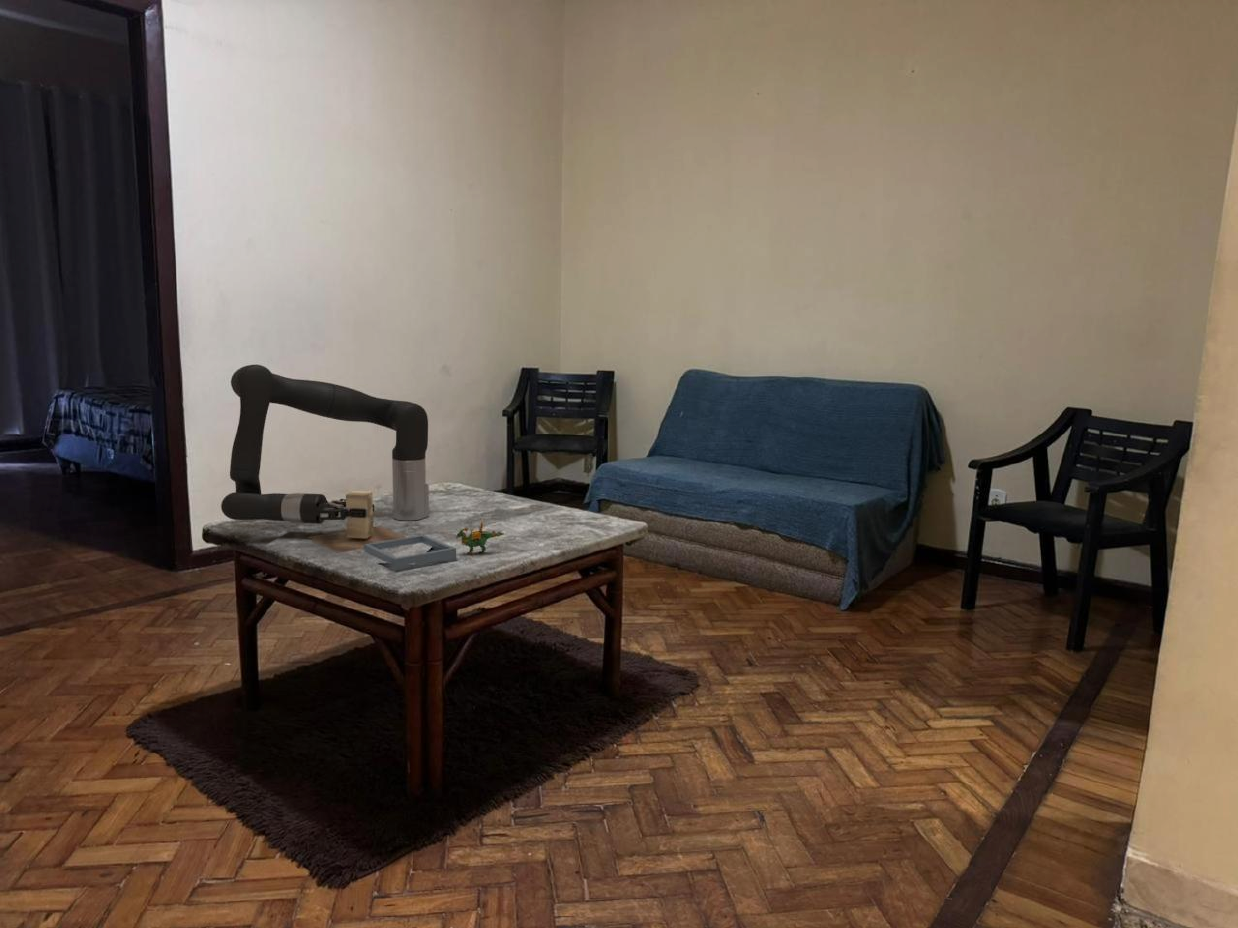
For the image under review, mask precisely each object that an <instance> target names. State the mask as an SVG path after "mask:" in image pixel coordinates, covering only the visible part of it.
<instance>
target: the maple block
mask: <svg viewBox="0 0 1238 928" xmlns="http://www.w3.org/2000/svg"><path fill="white" fill-rule="evenodd" d="M373 496H374V495H373V491H372V490H371V491H370V490H352V491H350V492H348V493H346V494H345V499H346V508H351V509H352V508H358V509H366V510H367V516H366V517H365V518H354V517H351V518H349V519H347V518H346V531H347V538H368V537H369V536H371V535H372V534H373V527H374V512H373V504H374V503H373V502H374V499H373Z"/></svg>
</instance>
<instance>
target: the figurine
mask: <svg viewBox="0 0 1238 928" xmlns="http://www.w3.org/2000/svg"><path fill="white" fill-rule="evenodd" d="M483 525H484V521H480V526H479V527H478V530H476V531H474V528H470V530H469V528H468V527H467V526H466V527H464V528H463V529H459V532H458V533H457V535H456V536H455V539H458V538H461V542H460V543H459V544H460V545H461V546H465V547H469V551H468V552H466V554H467V555H468V556H470V555H472V553H473V551H474V548H477V547H479V548H481V551H478V553H479V555H485V554H486V549H487V547H486V546H485V544H486V543H487V541H488V539H491V538H492V539H493V538H495V537H501V536H503V535H505V533H503V532H501V531H497V532H496V531H495V530H492V532H491V531H489V530H487V531H486V530H483ZM468 530H469V531H470V534H469V535H468V536H467V534H466V533H467V532H468ZM464 531H465V532H464Z"/></svg>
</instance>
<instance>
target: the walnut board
mask: <svg viewBox="0 0 1238 928" xmlns="http://www.w3.org/2000/svg"><path fill="white" fill-rule="evenodd" d="M307 538H308V539H310V540H312V541H313V542H315V543H317V544H319V545H321V546H323V547H325V548H327V549H329V550H330V551H332V552H334V553H343V552H350V551H355V550H356V551H357V550H361V549H364V544H370V543H376V542H382V541H388V540H394V539H400V538H407V537H406V536H404V535H402V534H400V533H398V532H395V531H393V530H390V529H388V528H385V527H383V526H382V525H379V526H373V534H372V535H371V536H369V537H368V538H347V530H344V531H337V532H331V533H325V534H318V535H311V536H307Z"/></svg>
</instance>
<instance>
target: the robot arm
mask: <svg viewBox="0 0 1238 928" xmlns="http://www.w3.org/2000/svg"><path fill="white" fill-rule="evenodd" d="M230 385H231V389H232V390H233V392H234V393H235V395H236V396H237V397H239V403H240V404H239V405H240V409H239V410H240V411H239V418H238V425H237V429H236V434H235V436H234V440H233V445H232V447H231V448H232V449H231V456H230V457H231V458H230V465H229V466H230V470H229V477H230V480H232V481H233V482H234V485H235V491H233V492H231V493H229V494H227V495H226V496H225V497H224V498H223V499H222V501H221V504H220V508H221V512H222V513H223V514H224V516H225V517H226V518H229V519H231V520H234V521H257V520H261V521H262V520H266V521H274V522H290V523H294V524H295V523H297V524H319V525H320V524H322V523H324V522H325V521H345V520H347V519H349V518H351V517H354V518H365V517H366V516H367V510H366V509H358V508H352V509H351V508H346V498H345V499H344V498H340V499H339V500H338V499H333V500H331V501H328V500H327V497H326V496H325V495H324V494H322V493H305V492H303V493H302V492H301V493H299V492H296V493H295V492H293V493H283V492H282V493H280V492H278V493H276V492H275V493H264V494H263V493H262V488H261V487H262V486H261V482H260V481H261V480H260V473H261V463H262V462H261V461H262V453H263V441H264V431H265V425H266V420H267V414H268V409H269V408H270V407H269V406H270V404H277V405H282V406H286V407H290V408H293V409H294V410H295V409H296V410H297V411H298V410H299V411H302V412H305V413H308V414H312V415H316V416H319V417H323V418H328V419H332V420H337V421H344V422H353V423H355V422H356V423H360V422H361V423H370V424H375V425H377V426H379V427H380V426H381V427H384V428H387V429H390V430H393V431H395V445H394V447H393V448H392V451H391V458H392V459H391V461H392V463H391V466H392V467H391V468H392V469H391V470H392V514H393V515H392V518H393V519H394V520H398V521H418V520H423V519H426V518H428V517H430V504H429V503H430V498H429V497H430V496H429V495H430V494H429V493H430V491H429V490H430V487H429V484H428V483H427V482H426V481H427V480H426V479H427V477H426V473H427V472H426V470H427V469H426V452H427V449H428V446H429V445H428V443H429V419H428V418H429V417H428V414H427V411H426V409H425V408H424V407H423V406H421V405H419V404H417V403H414V402H411V401H406V400H395V399H387V398H380V397H376V396H372V395H369V394H366V393H364V392H362V391H360V390H357V389H353V388H351V387H348V386H343V385H340V384H335V383H331V382H325V381H320V380H309V379H298V378H297V379H296V378H292V377H291V378H290V377H285V376H283V375H279V374H276V373H272V372H271V370H270V369H269V368H267V367H266V366H264V365H262V364H261V365H260V364H250V365H244V366H242V367H240V368H238V369H236V371H235V372H233V375H231V379H230ZM374 512H375V504H374V503H373V513H374Z"/></svg>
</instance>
